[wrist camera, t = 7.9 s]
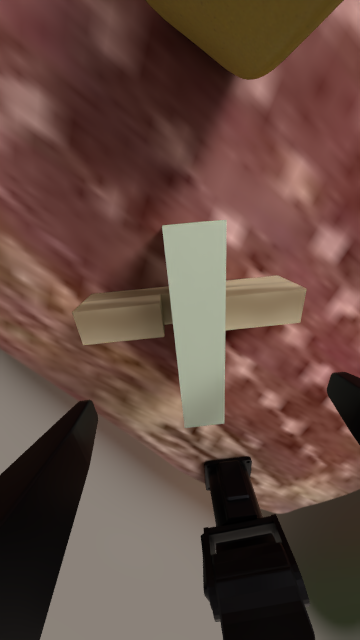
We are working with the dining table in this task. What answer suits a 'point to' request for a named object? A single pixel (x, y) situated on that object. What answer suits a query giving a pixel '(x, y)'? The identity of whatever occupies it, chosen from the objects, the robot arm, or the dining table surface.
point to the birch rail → (155, 310)
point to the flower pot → (246, 29)
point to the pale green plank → (198, 316)
